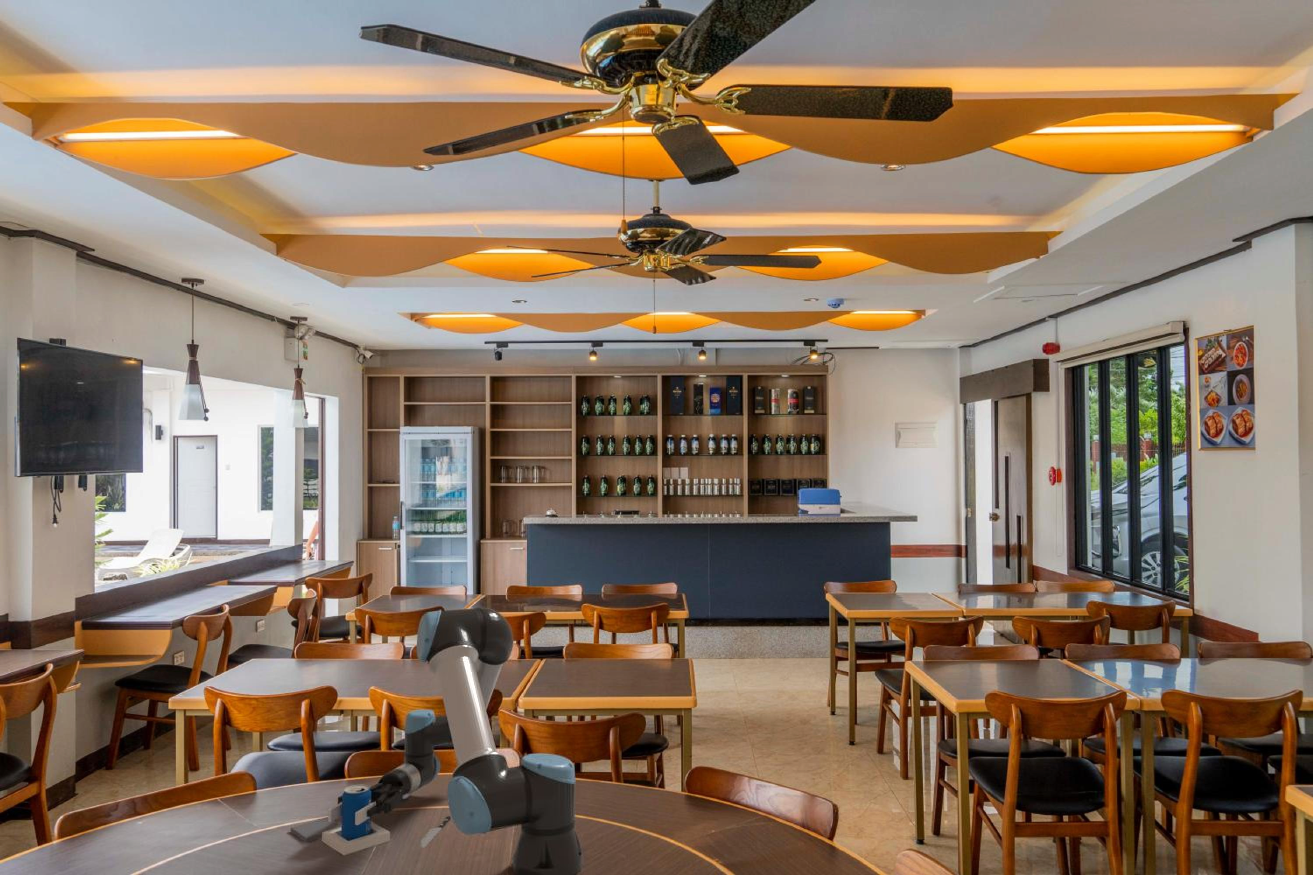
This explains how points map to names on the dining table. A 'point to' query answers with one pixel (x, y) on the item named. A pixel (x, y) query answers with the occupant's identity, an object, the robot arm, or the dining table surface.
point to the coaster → (314, 829)
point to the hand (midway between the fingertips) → (343, 817)
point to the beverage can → (351, 803)
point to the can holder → (351, 846)
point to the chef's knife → (433, 832)
